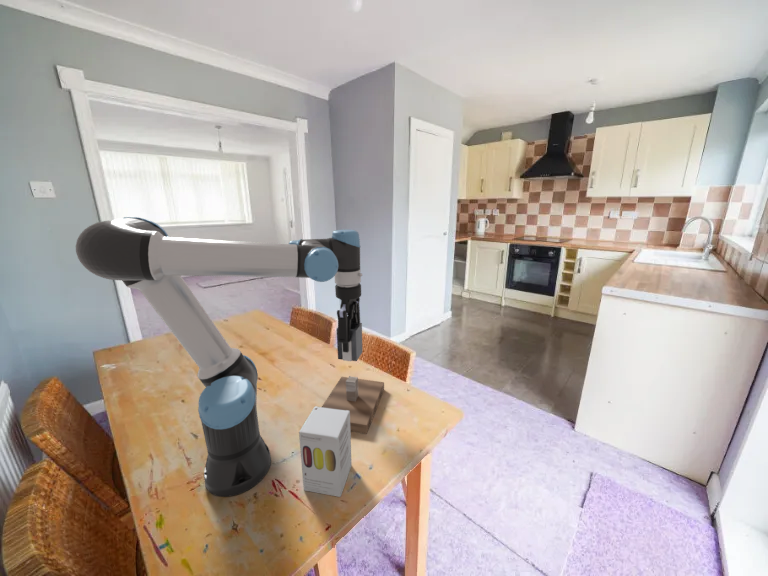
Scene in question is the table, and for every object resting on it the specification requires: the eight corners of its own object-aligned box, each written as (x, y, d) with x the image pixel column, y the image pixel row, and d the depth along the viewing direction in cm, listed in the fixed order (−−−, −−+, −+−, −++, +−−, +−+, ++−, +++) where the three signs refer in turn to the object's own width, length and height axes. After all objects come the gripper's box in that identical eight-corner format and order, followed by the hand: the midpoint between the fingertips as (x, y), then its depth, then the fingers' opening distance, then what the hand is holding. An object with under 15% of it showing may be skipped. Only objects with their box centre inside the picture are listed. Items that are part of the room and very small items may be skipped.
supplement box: (302, 491, 72) (296, 431, 67) (317, 459, 81) (313, 404, 76) (341, 498, 70) (338, 437, 65) (352, 464, 79) (350, 409, 74)
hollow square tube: (356, 361, 93) (355, 330, 90) (338, 359, 94) (336, 329, 91) (362, 351, 98) (361, 323, 95) (344, 349, 100) (343, 321, 97)
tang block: (366, 433, 89) (366, 404, 86) (315, 424, 93) (313, 396, 90) (384, 389, 110) (384, 364, 107) (341, 383, 113) (340, 359, 110)
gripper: (349, 294, 80) (352, 372, 86) (369, 276, 97) (370, 342, 104) (322, 292, 81) (327, 369, 88) (347, 275, 99) (349, 340, 106)
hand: (351, 354), depth 96 cm, fingers closed on hollow square tube, 6 cm apart
